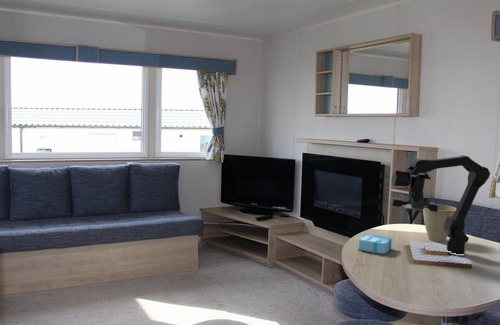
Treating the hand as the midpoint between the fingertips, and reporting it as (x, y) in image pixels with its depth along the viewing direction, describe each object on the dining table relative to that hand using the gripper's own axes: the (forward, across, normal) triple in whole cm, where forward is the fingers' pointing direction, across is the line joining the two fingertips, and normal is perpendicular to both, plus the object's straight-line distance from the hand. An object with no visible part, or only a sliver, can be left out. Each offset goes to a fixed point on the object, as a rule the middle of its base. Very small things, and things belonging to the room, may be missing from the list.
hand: (410, 223), depth 202 cm
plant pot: (+12, +19, +23) cm, 32 cm away
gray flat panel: (+14, -14, +1) cm, 19 cm away
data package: (+10, -8, -2) cm, 13 cm away
